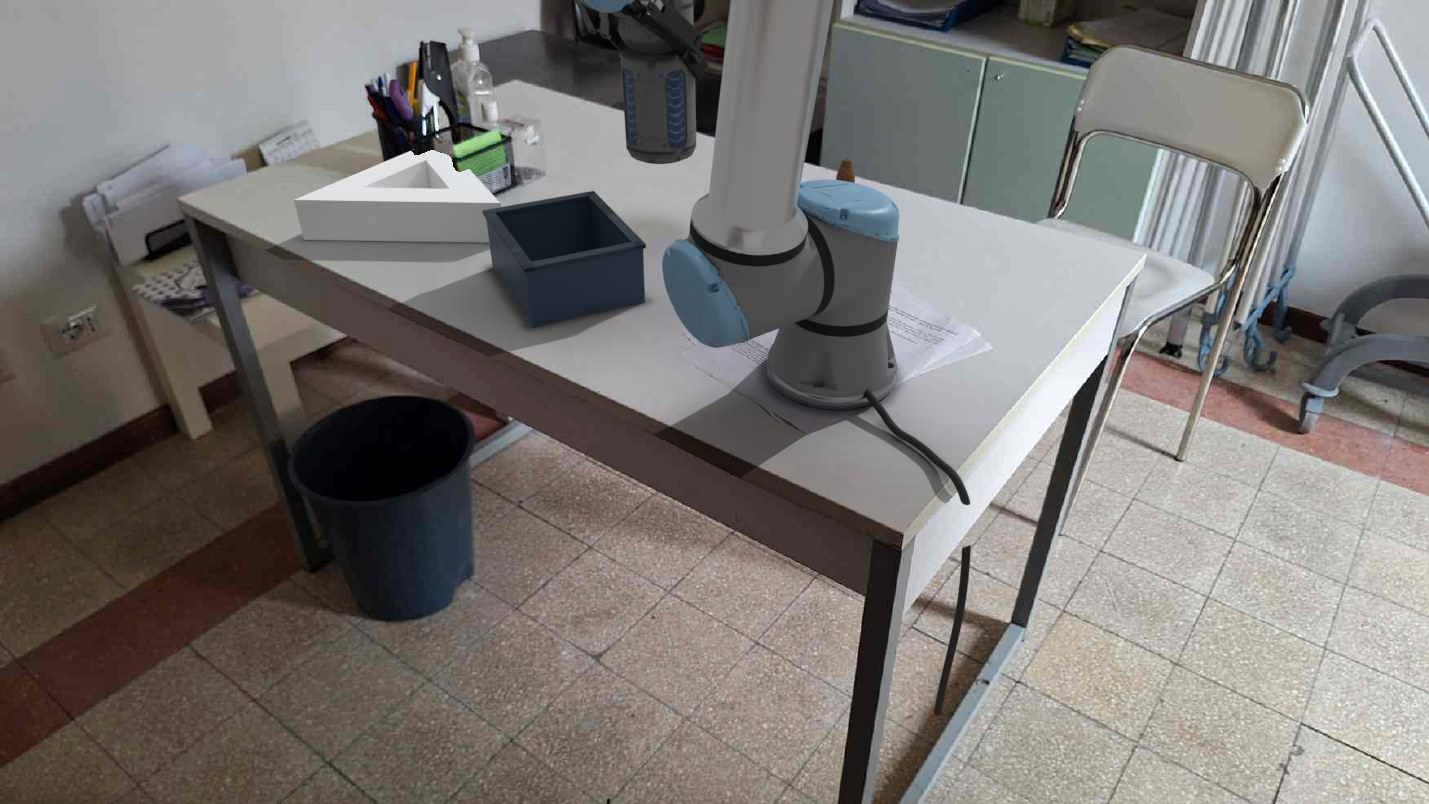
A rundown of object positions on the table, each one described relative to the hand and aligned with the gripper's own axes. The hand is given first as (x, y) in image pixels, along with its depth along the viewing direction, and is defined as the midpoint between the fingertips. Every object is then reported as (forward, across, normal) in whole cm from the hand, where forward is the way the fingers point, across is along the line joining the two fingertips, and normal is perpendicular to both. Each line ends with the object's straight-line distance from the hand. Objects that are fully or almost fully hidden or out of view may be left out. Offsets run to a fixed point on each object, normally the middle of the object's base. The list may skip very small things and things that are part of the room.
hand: (669, 65), depth 139 cm
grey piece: (+7, 0, +11) cm, 13 cm away
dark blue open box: (-1, 0, +34) cm, 35 cm away
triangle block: (+2, +29, +32) cm, 43 cm away
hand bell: (+18, -28, +16) cm, 37 cm away
